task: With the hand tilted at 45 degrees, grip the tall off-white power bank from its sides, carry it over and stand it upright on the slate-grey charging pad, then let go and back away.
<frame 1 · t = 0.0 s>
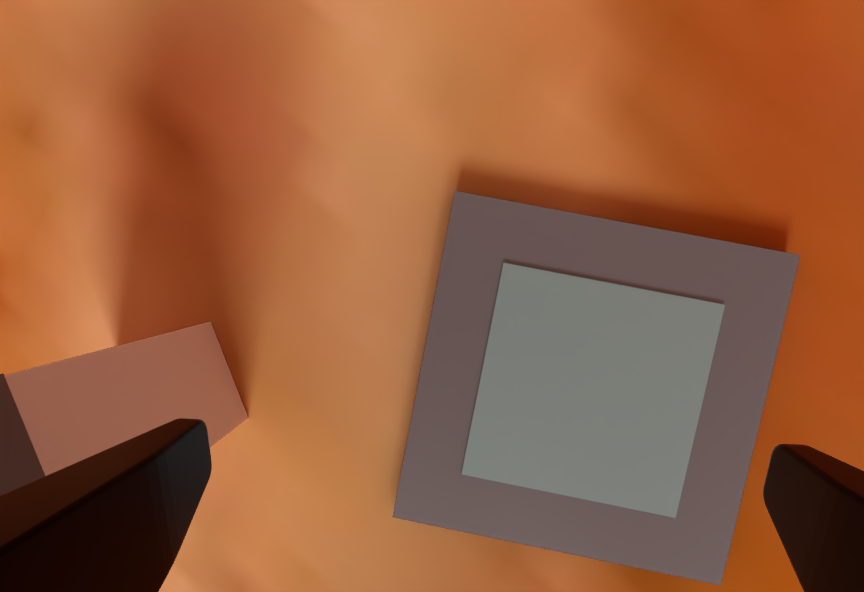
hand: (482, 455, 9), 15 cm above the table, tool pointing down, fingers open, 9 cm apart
power bank: (182, 387, 25), on the table
charging pad: (584, 385, 24), on the table
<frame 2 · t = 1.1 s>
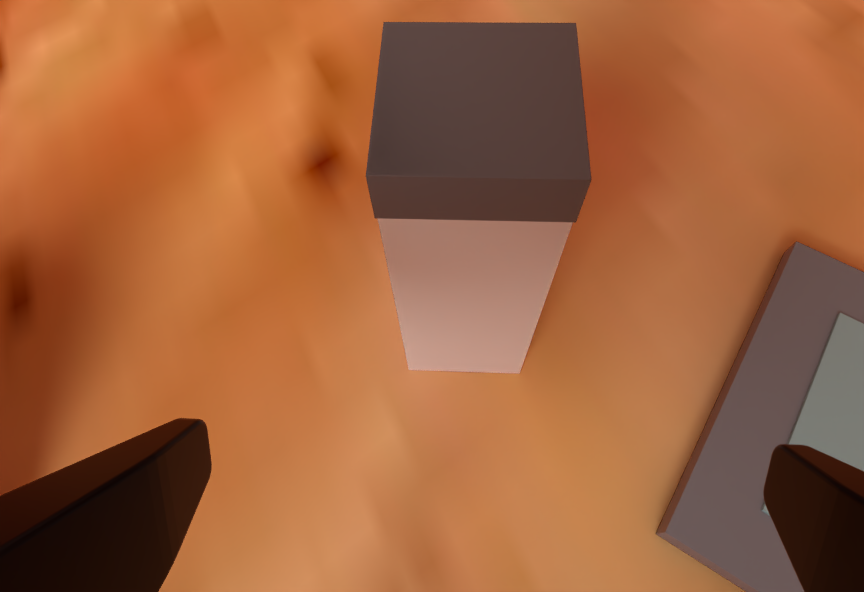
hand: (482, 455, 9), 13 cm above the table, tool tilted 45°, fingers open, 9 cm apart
power bank: (464, 320, 25), on the table
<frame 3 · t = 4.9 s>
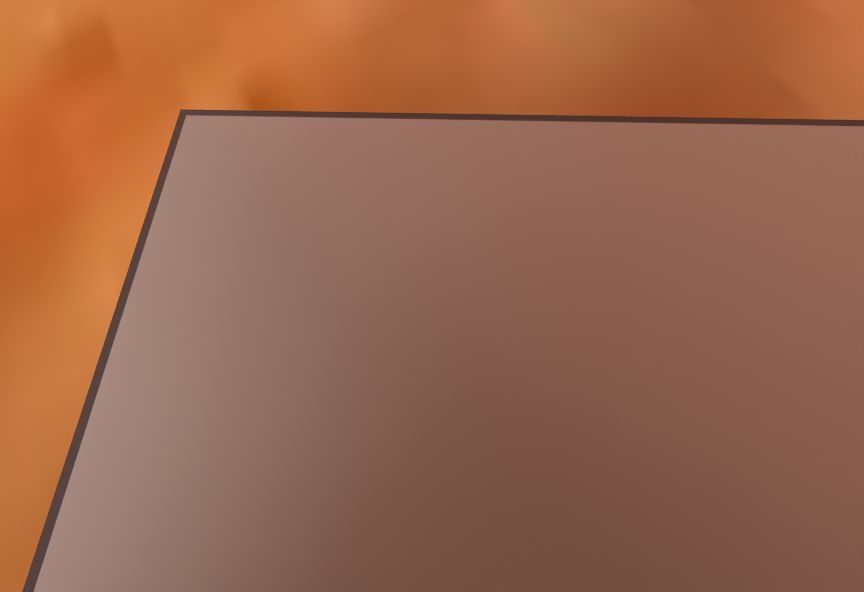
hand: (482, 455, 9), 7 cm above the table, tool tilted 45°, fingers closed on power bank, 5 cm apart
power bank: (468, 562, 14), on the table, touching gripper
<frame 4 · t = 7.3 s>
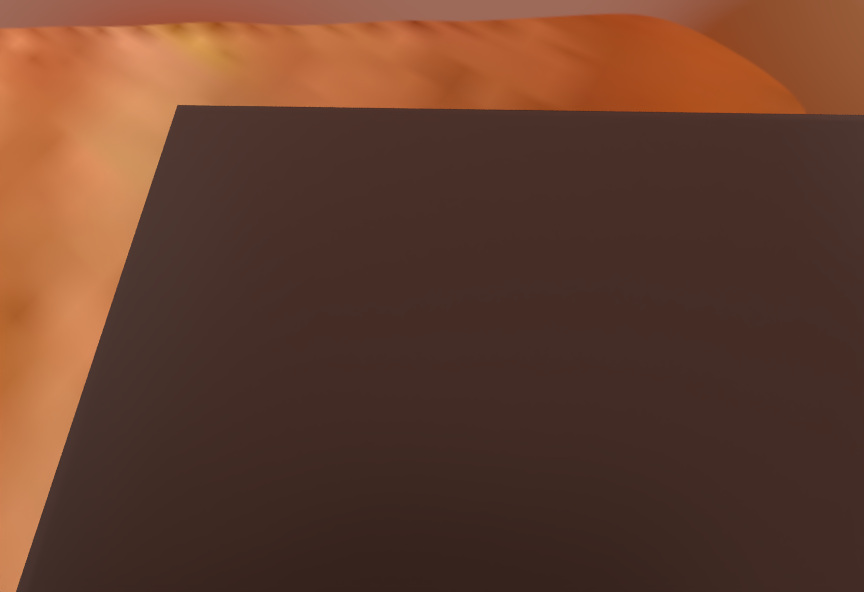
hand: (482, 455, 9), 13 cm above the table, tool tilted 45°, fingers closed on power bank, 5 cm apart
power bank: (467, 560, 14), point 7 cm above the table, touching gripper
when the fingers open (9 cm above the table, at t = 9.5 s): power bank drops 1 cm, resting on charging pad.
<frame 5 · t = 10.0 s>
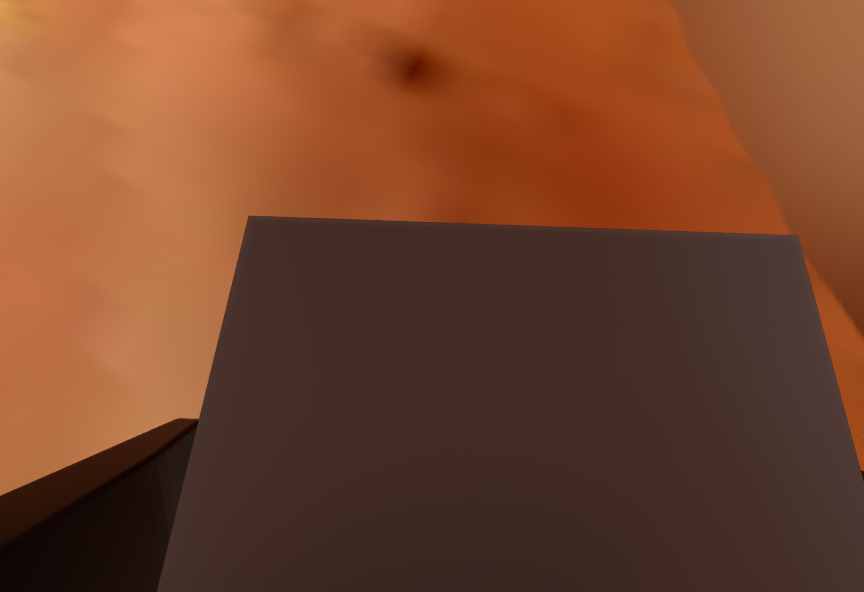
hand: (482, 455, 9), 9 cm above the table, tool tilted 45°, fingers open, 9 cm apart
power bank: (465, 562, 15), point 1 cm above the table, touching charging pad
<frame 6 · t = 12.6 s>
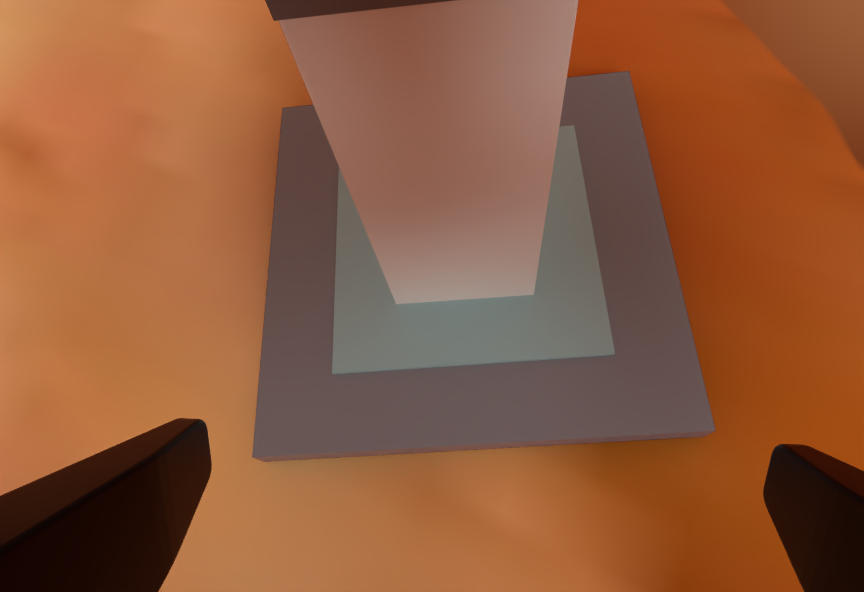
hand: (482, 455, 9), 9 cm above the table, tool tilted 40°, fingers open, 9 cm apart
power bank: (460, 239, 20), point 1 cm above the table, touching charging pad
charging pad: (463, 255, 21), on the table
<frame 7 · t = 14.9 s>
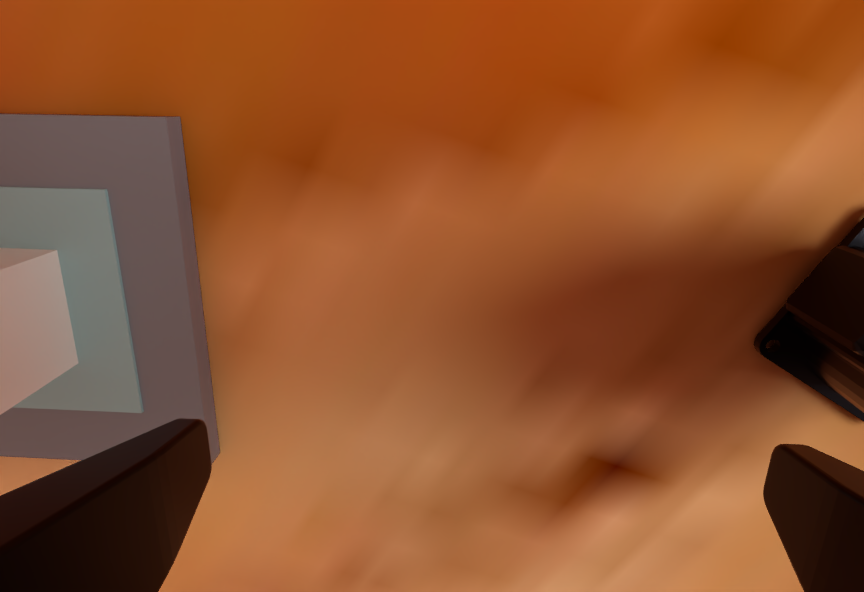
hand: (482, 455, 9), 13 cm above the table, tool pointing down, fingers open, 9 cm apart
power bank: (10, 305, 22), point 1 cm above the table, touching charging pad
charging pad: (32, 295, 23), on the table
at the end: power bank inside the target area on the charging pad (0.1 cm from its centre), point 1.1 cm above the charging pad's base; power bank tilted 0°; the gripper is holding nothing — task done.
